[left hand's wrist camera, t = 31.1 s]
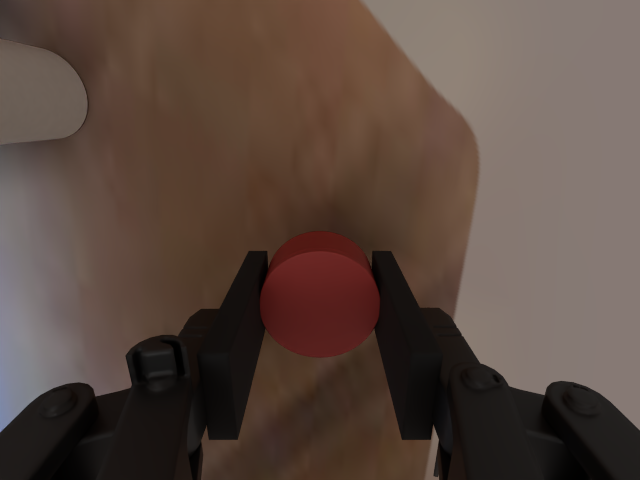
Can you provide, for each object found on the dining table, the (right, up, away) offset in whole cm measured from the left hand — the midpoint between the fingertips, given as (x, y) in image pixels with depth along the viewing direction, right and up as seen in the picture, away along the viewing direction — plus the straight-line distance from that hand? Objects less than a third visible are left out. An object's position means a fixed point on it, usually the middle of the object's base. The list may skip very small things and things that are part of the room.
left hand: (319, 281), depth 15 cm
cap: (0, -1, -2) cm, 2 cm away
